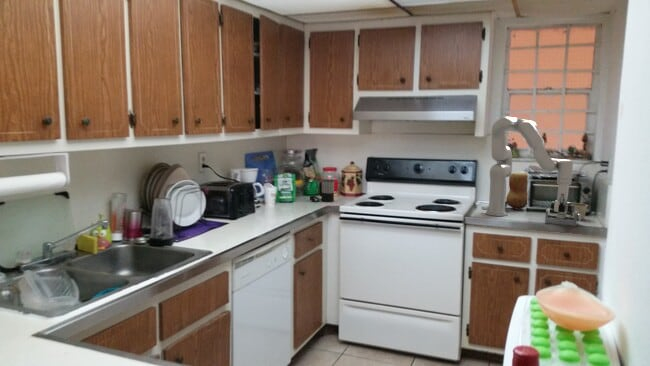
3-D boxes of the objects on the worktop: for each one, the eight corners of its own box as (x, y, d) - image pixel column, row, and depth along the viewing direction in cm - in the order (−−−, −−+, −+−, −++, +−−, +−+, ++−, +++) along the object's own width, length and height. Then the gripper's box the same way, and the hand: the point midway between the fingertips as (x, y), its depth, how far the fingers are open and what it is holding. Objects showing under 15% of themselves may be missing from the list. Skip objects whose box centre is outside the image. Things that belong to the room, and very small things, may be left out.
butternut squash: (501, 207, 342) (503, 170, 339) (518, 207, 346) (520, 170, 343) (515, 211, 329) (518, 172, 326) (532, 210, 333) (535, 172, 330)
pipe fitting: (545, 222, 295) (545, 210, 294) (546, 219, 303) (547, 208, 302) (579, 226, 286) (580, 213, 285) (580, 223, 295) (581, 211, 294)
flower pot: (589, 220, 303) (590, 206, 302) (572, 219, 305) (573, 205, 304) (584, 217, 312) (585, 203, 311) (567, 216, 314) (568, 202, 313)
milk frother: (336, 201, 359) (337, 180, 357) (322, 203, 347) (323, 182, 345) (321, 198, 368) (321, 178, 366) (306, 201, 355) (307, 180, 354)
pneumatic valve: (569, 222, 289) (572, 201, 287) (548, 218, 298) (551, 198, 296) (573, 221, 293) (576, 201, 291) (553, 217, 301) (555, 197, 300)
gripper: (558, 179, 301) (556, 208, 303) (555, 182, 286) (553, 212, 288) (572, 180, 298) (570, 209, 300) (570, 183, 283) (568, 214, 285)
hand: (561, 210), depth 294 cm, fingers open, 9 cm apart
